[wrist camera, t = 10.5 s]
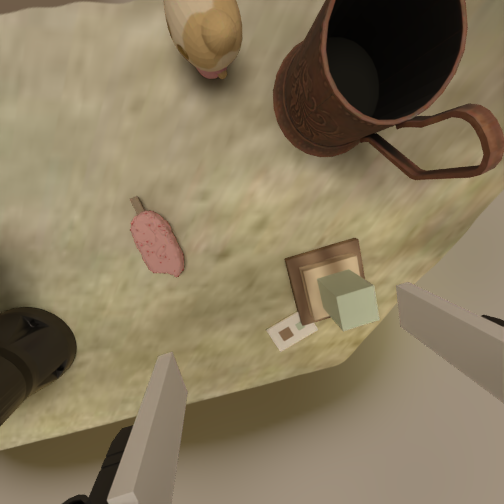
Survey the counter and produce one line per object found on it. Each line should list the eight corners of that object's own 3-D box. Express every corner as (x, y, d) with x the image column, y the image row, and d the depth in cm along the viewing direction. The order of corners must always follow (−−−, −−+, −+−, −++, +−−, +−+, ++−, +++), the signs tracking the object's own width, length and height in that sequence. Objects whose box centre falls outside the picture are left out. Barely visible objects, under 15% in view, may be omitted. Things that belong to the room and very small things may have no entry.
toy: (166, 45, 38) (131, -45, 23) (213, 12, 38) (208, -99, 23) (204, 108, 41) (193, 63, 26) (249, 78, 40) (264, 15, 26)
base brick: (300, 322, 52) (306, 332, 48) (284, 258, 48) (289, 264, 44) (365, 302, 52) (376, 311, 48) (354, 237, 49) (365, 242, 45)
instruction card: (280, 351, 53) (280, 352, 52) (266, 329, 51) (266, 330, 51) (317, 329, 52) (318, 330, 52) (304, 306, 51) (305, 307, 50)
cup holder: (360, 11, 40) (571, -263, 16) (401, 159, 46) (598, 125, 22) (254, 64, 40) (301, -129, 16) (310, 204, 46) (405, 219, 22)
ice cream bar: (148, 189, 39) (189, 273, 42) (155, 190, 43) (192, 266, 47) (110, 205, 39) (154, 288, 42) (120, 204, 43) (160, 280, 46)
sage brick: (323, 308, 47) (343, 331, 39) (316, 278, 45) (336, 297, 38) (353, 298, 47) (379, 319, 39) (348, 269, 46) (374, 285, 38)
